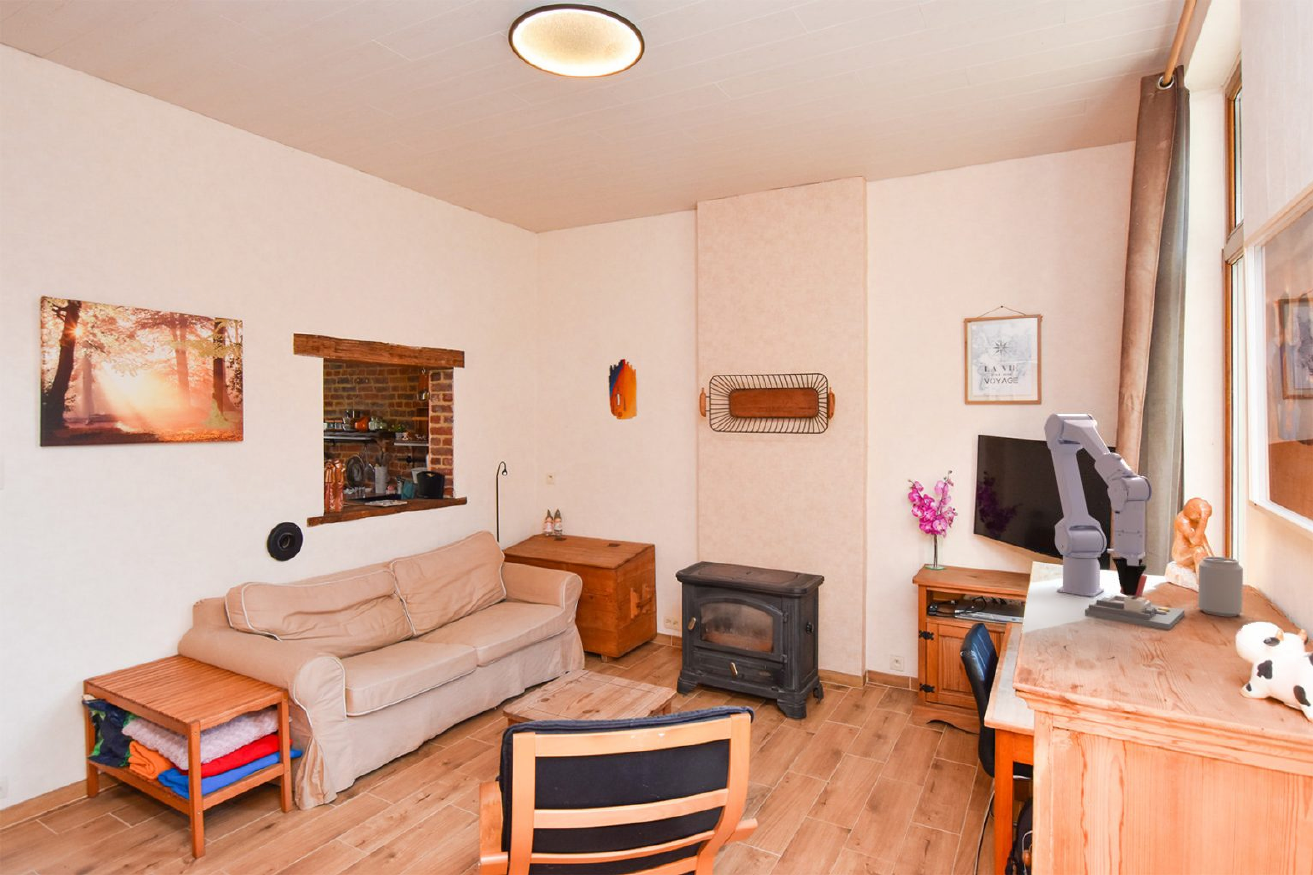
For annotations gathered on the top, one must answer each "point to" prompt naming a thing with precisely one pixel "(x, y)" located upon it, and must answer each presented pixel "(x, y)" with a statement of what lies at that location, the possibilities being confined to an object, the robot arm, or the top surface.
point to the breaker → (1135, 604)
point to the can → (1220, 586)
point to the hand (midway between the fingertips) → (1128, 592)
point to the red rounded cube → (1140, 587)
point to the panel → (1135, 613)
